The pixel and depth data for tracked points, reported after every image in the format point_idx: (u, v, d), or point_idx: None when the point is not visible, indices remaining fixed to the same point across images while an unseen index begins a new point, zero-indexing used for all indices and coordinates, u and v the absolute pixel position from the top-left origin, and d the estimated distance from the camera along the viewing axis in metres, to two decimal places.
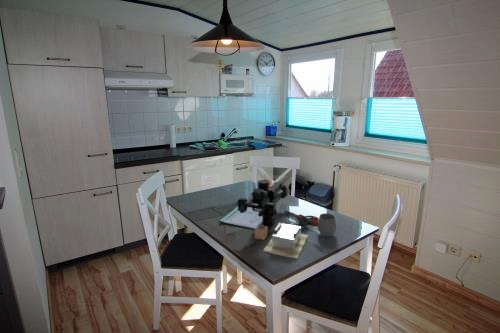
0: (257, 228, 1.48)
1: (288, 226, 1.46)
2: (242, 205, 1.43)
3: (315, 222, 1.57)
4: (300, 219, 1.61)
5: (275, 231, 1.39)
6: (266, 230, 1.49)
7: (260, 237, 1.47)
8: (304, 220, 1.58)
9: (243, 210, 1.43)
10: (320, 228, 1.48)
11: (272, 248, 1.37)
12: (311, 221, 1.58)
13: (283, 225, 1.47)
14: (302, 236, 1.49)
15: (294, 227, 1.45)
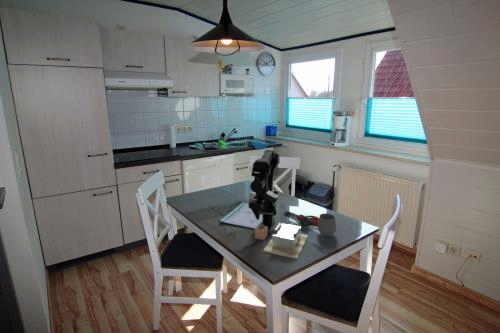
0: (257, 228, 1.48)
1: (288, 226, 1.46)
2: (259, 211, 1.40)
3: (316, 222, 1.57)
4: (301, 219, 1.61)
5: (275, 231, 1.39)
6: (266, 230, 1.49)
7: (260, 237, 1.47)
8: (305, 220, 1.58)
9: None
10: (320, 228, 1.48)
11: (272, 248, 1.37)
12: (312, 221, 1.58)
13: (283, 225, 1.47)
14: (302, 236, 1.49)
15: (294, 227, 1.45)
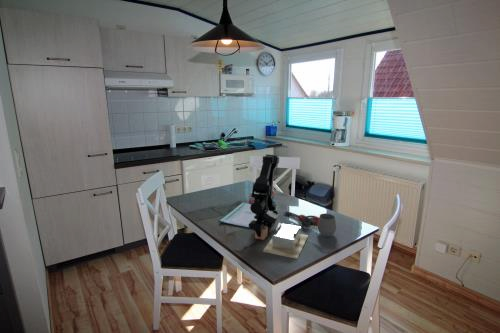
0: None
1: (288, 226, 1.46)
2: (261, 230, 1.45)
3: (317, 222, 1.57)
4: (302, 219, 1.60)
5: (275, 231, 1.39)
6: (266, 230, 1.49)
7: (260, 237, 1.47)
8: (306, 220, 1.58)
9: None
10: (320, 228, 1.48)
11: (272, 248, 1.37)
12: (313, 221, 1.58)
13: (283, 225, 1.47)
14: (302, 236, 1.49)
15: (294, 227, 1.45)
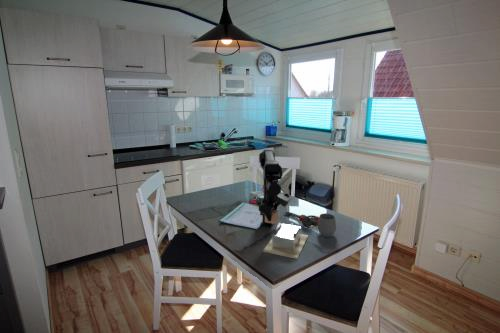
0: None
1: (288, 226, 1.46)
2: (271, 213, 1.39)
3: None
4: (303, 219, 1.60)
5: (275, 231, 1.39)
6: (277, 214, 1.43)
7: (270, 221, 1.41)
8: (308, 220, 1.58)
9: None
10: (320, 228, 1.48)
11: (272, 248, 1.37)
12: (315, 221, 1.58)
13: (283, 225, 1.47)
14: (302, 236, 1.49)
15: (294, 227, 1.45)
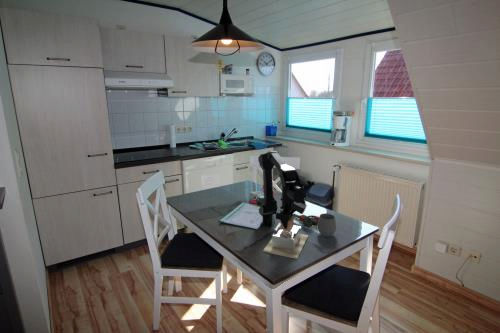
0: None
1: None
2: None
3: None
4: (304, 219, 1.60)
5: (275, 231, 1.39)
6: (292, 221, 1.40)
7: None
8: (308, 220, 1.58)
9: None
10: (320, 228, 1.48)
11: (272, 248, 1.37)
12: (315, 221, 1.58)
13: None
14: (302, 236, 1.49)
15: (294, 227, 1.45)
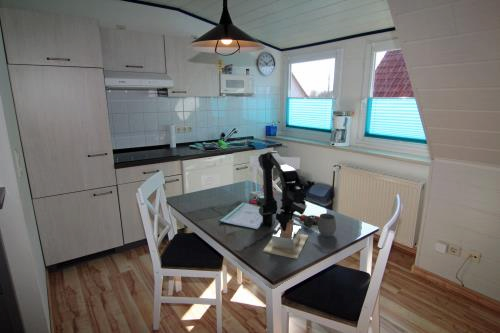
0: None
1: None
2: None
3: None
4: (305, 219, 1.60)
5: (275, 231, 1.39)
6: (292, 224, 1.40)
7: (286, 231, 1.38)
8: (309, 220, 1.58)
9: None
10: (320, 228, 1.48)
11: (272, 248, 1.37)
12: (316, 221, 1.58)
13: None
14: (302, 236, 1.49)
15: (294, 227, 1.45)
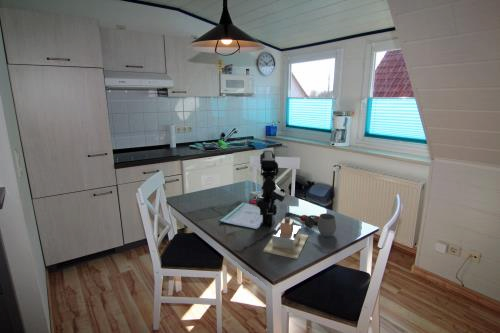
0: (283, 221, 1.39)
1: None
2: (267, 210, 1.42)
3: None
4: (306, 220, 1.60)
5: (275, 231, 1.39)
6: (292, 224, 1.40)
7: (286, 231, 1.38)
8: (310, 220, 1.58)
9: None
10: (320, 228, 1.48)
11: (272, 248, 1.37)
12: (317, 221, 1.58)
13: None
14: (302, 236, 1.49)
15: (294, 227, 1.45)
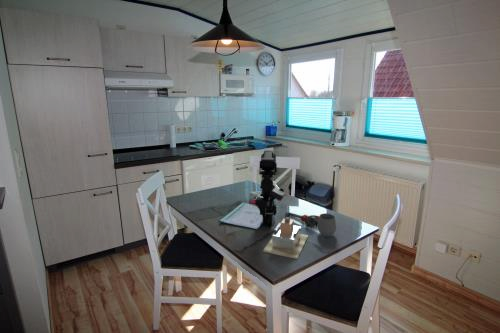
0: (283, 221, 1.39)
1: None
2: (266, 209, 1.42)
3: None
4: (306, 220, 1.60)
5: (275, 231, 1.39)
6: (292, 224, 1.40)
7: (286, 231, 1.38)
8: (311, 220, 1.58)
9: None
10: (320, 228, 1.48)
11: (272, 248, 1.37)
12: None
13: None
14: (302, 236, 1.49)
15: (294, 227, 1.45)
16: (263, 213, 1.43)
